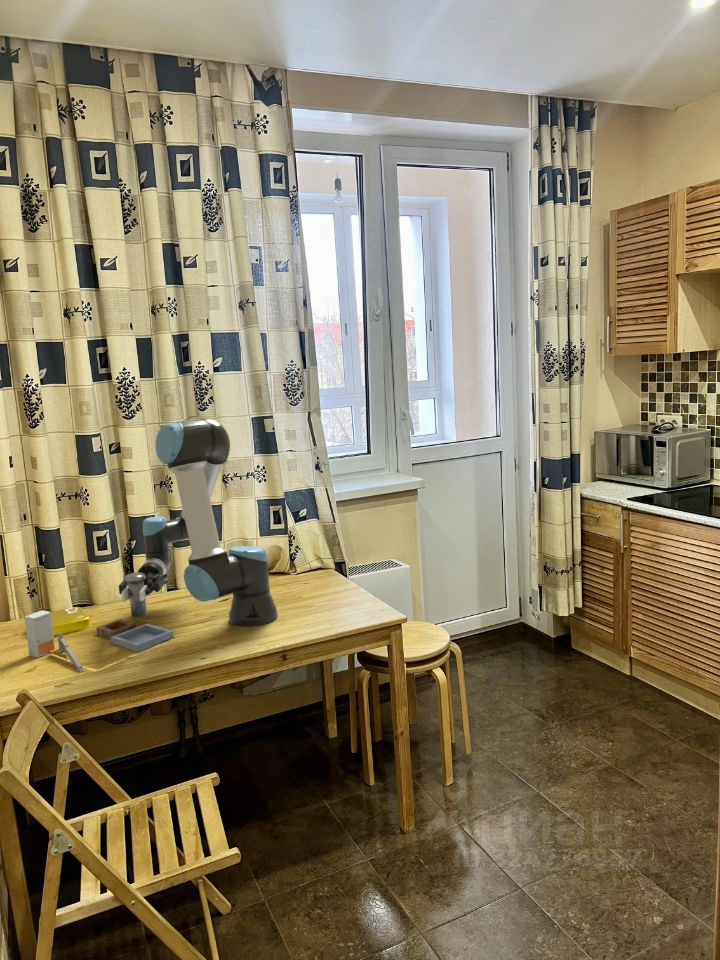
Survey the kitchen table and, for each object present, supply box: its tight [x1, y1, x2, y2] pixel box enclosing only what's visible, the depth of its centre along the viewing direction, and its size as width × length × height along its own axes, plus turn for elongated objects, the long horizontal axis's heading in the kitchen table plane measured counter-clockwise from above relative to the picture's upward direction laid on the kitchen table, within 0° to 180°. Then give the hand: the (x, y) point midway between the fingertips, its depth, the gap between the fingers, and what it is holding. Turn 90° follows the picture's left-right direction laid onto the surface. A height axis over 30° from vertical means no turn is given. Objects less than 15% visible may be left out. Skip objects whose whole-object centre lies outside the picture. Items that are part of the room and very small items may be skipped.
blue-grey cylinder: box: [124, 572, 148, 619], centre depth 219 cm, size 6×6×12 cm
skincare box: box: [24, 610, 56, 659], centre depth 215 cm, size 6×4×12 cm
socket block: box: [96, 618, 137, 639], centre depth 229 cm, size 8×8×3 cm
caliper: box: [57, 632, 85, 673], centre depth 209 cm, size 20×1×6 cm, turn 37°
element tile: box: [50, 606, 91, 638], centre depth 236 cm, size 15×15×5 cm
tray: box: [110, 623, 175, 654], centre depth 221 cm, size 13×13×2 cm
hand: (132, 597), depth 213 cm, fingers closed on blue-grey cylinder, 4 cm apart
